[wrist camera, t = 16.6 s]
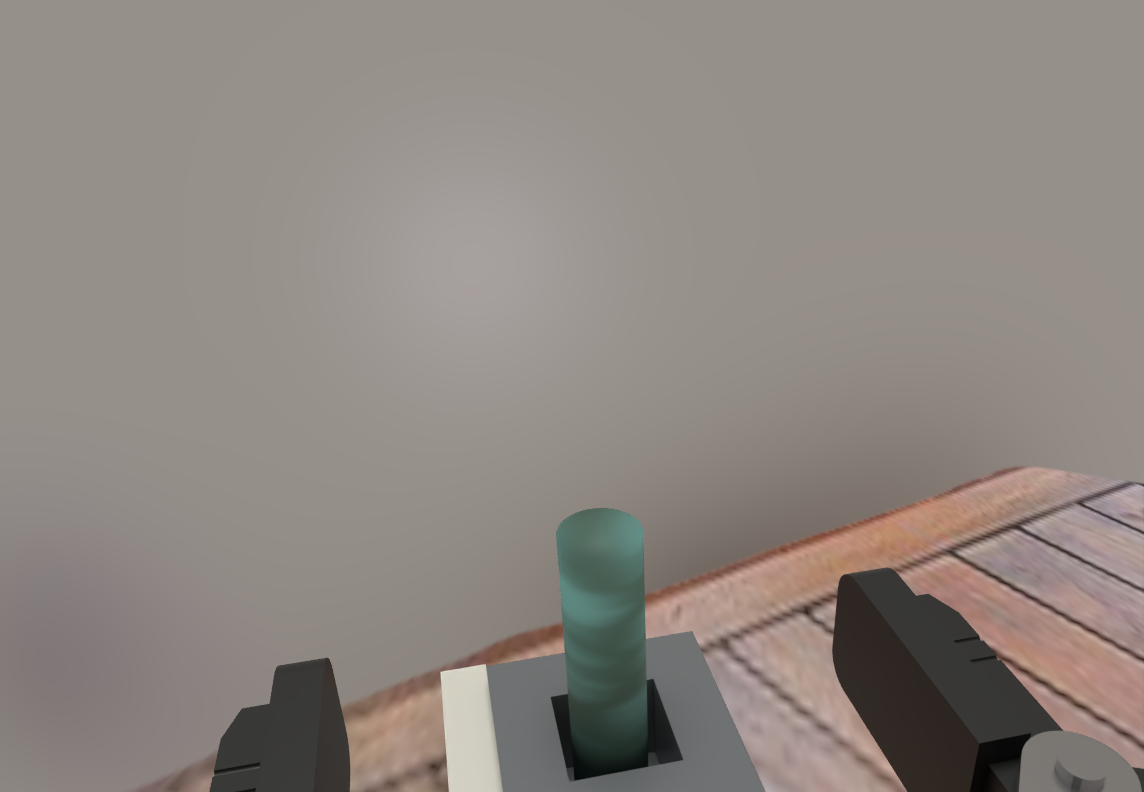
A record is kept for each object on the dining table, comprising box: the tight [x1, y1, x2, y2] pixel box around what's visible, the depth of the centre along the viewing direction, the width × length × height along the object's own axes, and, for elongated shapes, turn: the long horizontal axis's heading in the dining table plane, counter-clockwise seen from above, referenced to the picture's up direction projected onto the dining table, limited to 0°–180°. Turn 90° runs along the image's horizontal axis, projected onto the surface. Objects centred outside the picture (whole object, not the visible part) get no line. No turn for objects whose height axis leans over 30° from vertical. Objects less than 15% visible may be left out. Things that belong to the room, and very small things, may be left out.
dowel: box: [556, 508, 649, 781], centre depth 41 cm, size 4×4×16 cm
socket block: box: [486, 631, 765, 792], centre depth 44 cm, size 11×11×7 cm
